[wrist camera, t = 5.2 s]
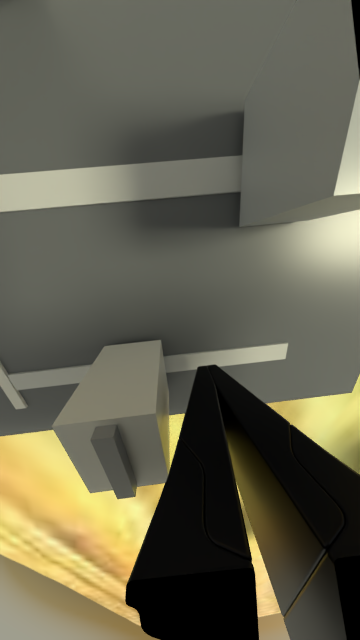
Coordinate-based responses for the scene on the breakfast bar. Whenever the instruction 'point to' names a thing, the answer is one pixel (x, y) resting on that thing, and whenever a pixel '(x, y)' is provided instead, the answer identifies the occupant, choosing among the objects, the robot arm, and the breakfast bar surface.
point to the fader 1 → (119, 420)
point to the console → (153, 210)
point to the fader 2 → (305, 119)
